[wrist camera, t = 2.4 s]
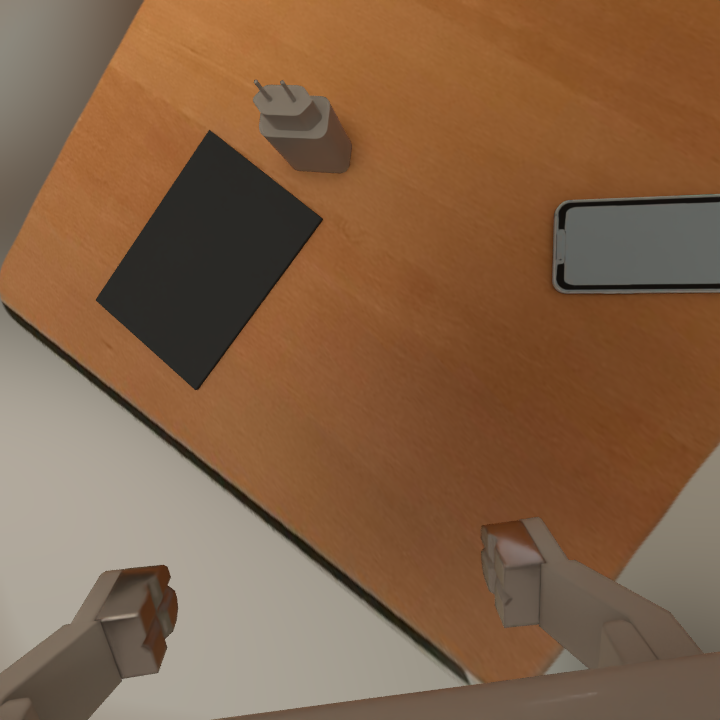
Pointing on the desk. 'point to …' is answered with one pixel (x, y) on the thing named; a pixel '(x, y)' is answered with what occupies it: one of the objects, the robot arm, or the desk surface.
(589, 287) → the smartphone
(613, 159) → the desk surface
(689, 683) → the robot arm
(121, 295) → the desk mat
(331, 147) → the power adapter
